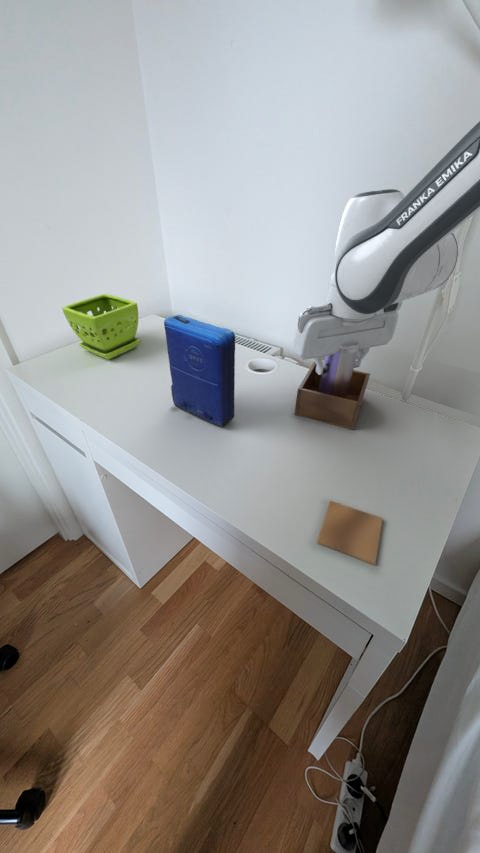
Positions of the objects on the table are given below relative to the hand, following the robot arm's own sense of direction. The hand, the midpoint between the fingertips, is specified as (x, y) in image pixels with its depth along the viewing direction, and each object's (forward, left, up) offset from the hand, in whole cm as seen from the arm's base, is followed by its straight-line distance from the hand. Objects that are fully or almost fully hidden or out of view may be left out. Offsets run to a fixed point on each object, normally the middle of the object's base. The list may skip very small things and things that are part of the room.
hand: (337, 369), depth 68 cm
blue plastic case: (+24, +14, -9) cm, 29 cm away
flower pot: (+62, -1, -9) cm, 63 cm away
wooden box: (0, 0, -9) cm, 9 cm away
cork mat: (-10, +30, -9) cm, 33 cm away
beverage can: (0, 0, -9) cm, 9 cm away
